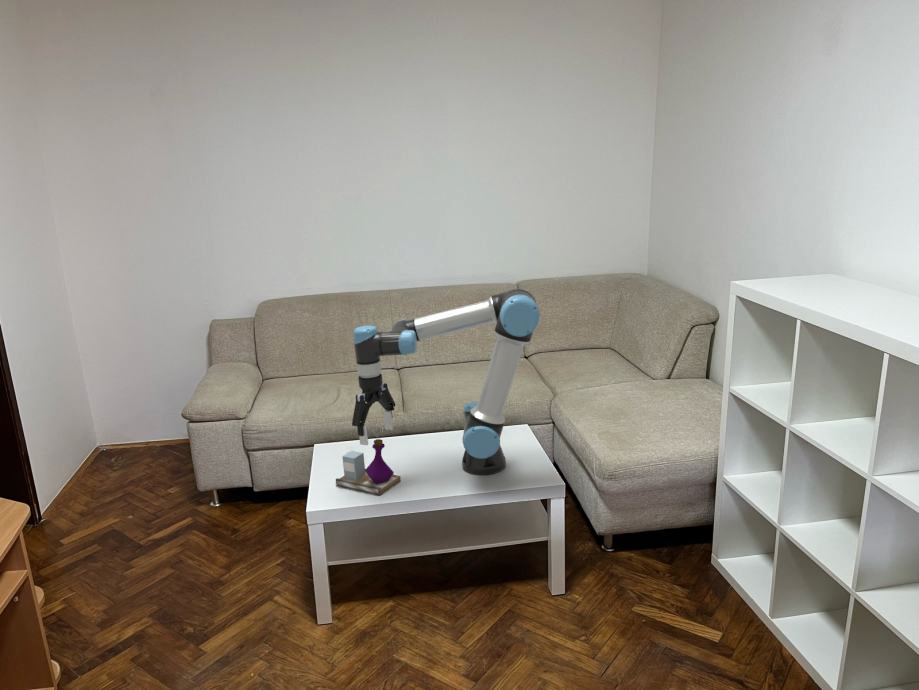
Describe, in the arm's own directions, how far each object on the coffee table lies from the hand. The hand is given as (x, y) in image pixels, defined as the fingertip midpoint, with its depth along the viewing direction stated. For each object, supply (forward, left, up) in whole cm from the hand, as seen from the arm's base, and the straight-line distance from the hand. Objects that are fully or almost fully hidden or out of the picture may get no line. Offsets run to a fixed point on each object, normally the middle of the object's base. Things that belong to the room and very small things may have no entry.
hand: (377, 436), depth 234 cm
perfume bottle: (0, 0, -16) cm, 16 cm away
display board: (+5, 0, -18) cm, 18 cm away
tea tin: (+10, +1, -16) cm, 19 cm away
